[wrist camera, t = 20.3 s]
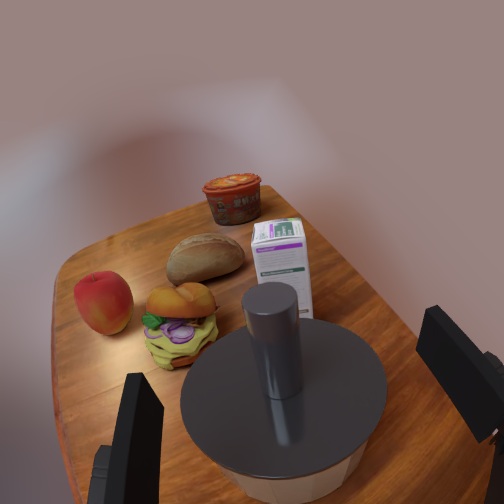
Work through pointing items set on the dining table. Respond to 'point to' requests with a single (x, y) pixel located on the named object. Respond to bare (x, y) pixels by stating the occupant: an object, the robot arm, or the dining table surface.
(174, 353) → the cheeseburger
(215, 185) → the food container
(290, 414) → the lid
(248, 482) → the pot
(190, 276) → the bread roll
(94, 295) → the apple
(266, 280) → the syrup box
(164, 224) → the dining table surface
